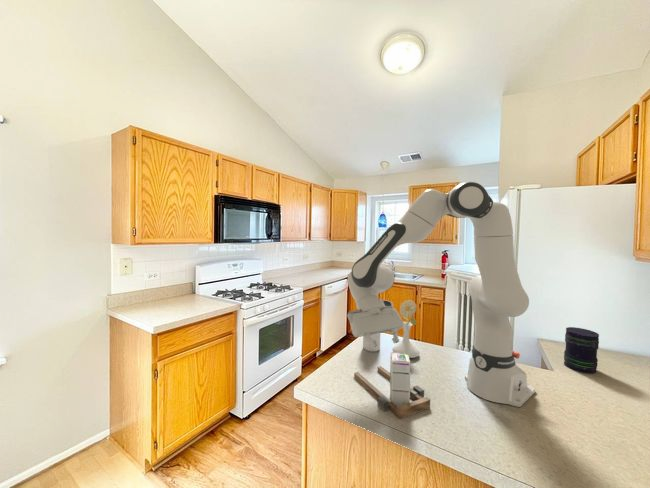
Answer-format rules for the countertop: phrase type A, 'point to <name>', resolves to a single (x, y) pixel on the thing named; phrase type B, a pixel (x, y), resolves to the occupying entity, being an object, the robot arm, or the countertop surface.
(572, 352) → the storage jar
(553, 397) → the countertop surface
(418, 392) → the beam slot
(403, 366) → the syrup box
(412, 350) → the flower in vase
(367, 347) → the milk bottle
